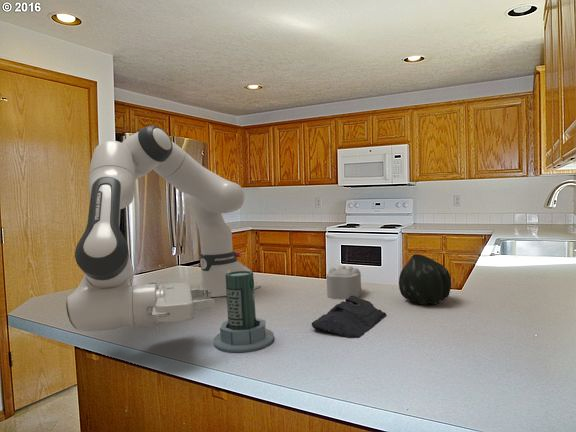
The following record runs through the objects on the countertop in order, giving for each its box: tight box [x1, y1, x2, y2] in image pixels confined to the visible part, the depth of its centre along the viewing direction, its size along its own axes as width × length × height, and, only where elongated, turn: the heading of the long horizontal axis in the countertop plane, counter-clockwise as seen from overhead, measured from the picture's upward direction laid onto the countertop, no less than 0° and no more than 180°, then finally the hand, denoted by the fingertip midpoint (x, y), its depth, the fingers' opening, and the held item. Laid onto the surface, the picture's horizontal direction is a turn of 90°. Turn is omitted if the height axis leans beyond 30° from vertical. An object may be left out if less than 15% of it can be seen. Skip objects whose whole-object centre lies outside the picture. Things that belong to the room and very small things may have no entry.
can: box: [225, 270, 257, 330], centre depth 96 cm, size 6×6×15 cm
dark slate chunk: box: [311, 296, 387, 339], centre depth 107 cm, size 15×22×5 cm
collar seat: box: [213, 317, 275, 354], centre depth 97 cm, size 14×14×4 cm
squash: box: [398, 253, 452, 306], centre depth 122 cm, size 14×15×15 cm
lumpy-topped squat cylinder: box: [326, 265, 362, 300], centre depth 135 cm, size 10×13×9 cm
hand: (212, 297), depth 94 cm, fingers open, 8 cm apart
